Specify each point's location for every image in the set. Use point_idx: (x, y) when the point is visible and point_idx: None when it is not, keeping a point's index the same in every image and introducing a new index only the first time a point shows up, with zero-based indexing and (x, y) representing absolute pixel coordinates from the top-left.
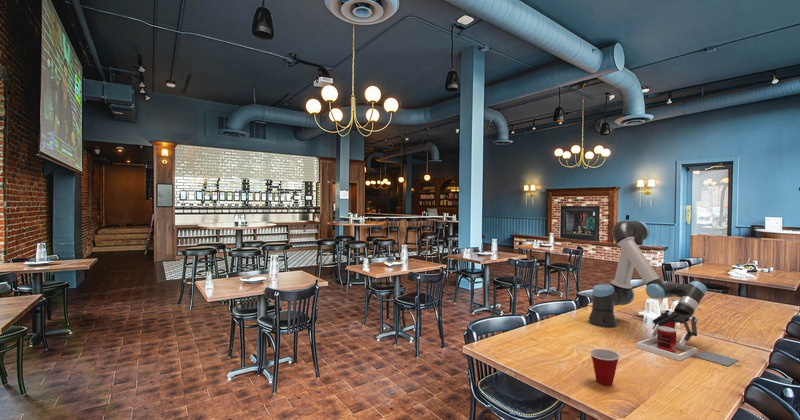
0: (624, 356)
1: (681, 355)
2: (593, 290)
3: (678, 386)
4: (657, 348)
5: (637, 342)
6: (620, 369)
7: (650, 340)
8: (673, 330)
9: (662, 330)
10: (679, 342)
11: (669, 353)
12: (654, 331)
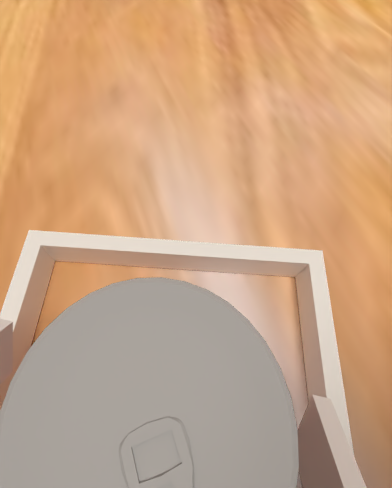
0: (255, 100)
1: (22, 255)
2: None
3: (17, 5)
4: (179, 250)
5: (322, 261)
6: (193, 2)
7: None
8: (40, 450)
9: (173, 281)
10: (5, 322)
11: (97, 237)
12: (325, 447)
